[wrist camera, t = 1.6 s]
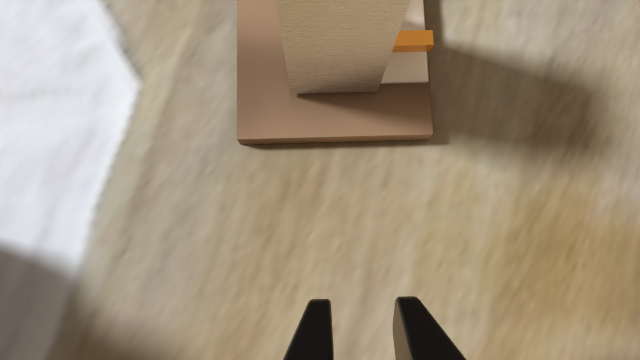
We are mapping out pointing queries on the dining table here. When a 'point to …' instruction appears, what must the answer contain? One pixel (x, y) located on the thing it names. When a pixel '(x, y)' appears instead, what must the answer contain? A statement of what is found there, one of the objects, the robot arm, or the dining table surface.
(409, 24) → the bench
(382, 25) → the pale grey block
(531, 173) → the dining table surface
